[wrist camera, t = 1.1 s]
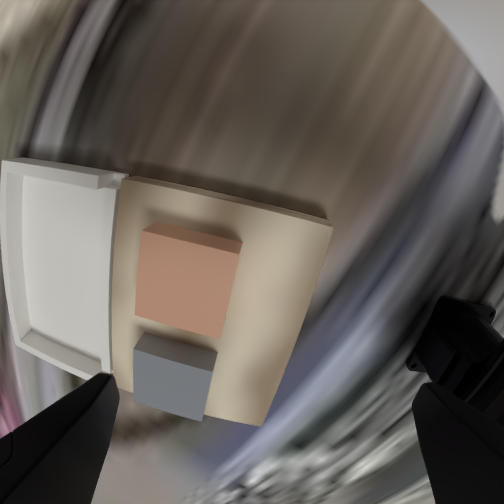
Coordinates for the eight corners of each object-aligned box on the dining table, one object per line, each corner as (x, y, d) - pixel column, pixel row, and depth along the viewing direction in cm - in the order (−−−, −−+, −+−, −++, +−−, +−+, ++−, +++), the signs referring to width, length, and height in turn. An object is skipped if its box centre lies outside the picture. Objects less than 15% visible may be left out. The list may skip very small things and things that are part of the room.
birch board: (328, 219, 18) (334, 227, 16) (262, 409, 23) (261, 426, 21) (136, 175, 18) (121, 178, 16) (123, 371, 23) (114, 386, 21)
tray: (129, 174, 18) (110, 178, 16) (118, 369, 23) (106, 387, 21) (23, 157, 18) (2, 160, 15) (30, 331, 23) (15, 344, 21)
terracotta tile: (243, 242, 17) (239, 254, 15) (225, 320, 18) (219, 339, 16) (155, 221, 17) (141, 230, 15) (146, 299, 18) (134, 315, 16)
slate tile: (217, 352, 19) (212, 371, 17) (206, 402, 21) (201, 421, 19) (144, 331, 19) (133, 348, 17) (142, 383, 21) (133, 401, 19)
